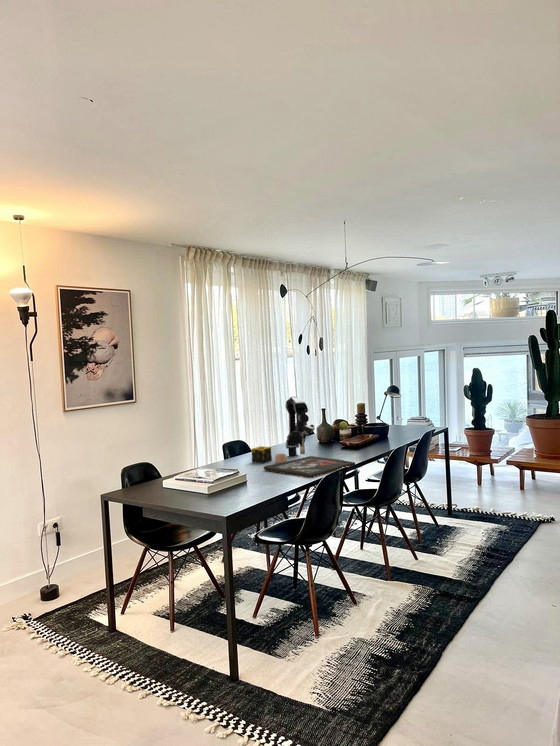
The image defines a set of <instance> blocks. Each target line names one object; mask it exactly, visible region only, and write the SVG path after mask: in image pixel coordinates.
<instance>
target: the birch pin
mask: <svg viewBox="0 0 560 746" xmlns="http://www.w3.org/2000/svg"><path fill="white" fill-rule="evenodd" d="M305 446H306V445H305V443H304V438H302V446H300V445H299V451H300V452H299V453H300V455H305V454H306V451H305V450H306V449H305V448H306V447H305Z"/></svg>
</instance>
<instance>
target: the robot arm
mask: <svg viewBox="0 0 560 746" xmlns="http://www.w3.org/2000/svg"><path fill="white" fill-rule="evenodd" d="M285 409H286V412H287V413H288V431H289V432H288V435H287V436H286V440H285V449H287V450H288V451H287V453H288V455H289V456H288V457H290V458H291V457H293V458H295V457H298V455H299V454H297V449H298V448H299V449H300V446H302V438H304V444H305V442H306V440H307V436H308V435H309V434H312V433H314V430H315V425H314V424H310V425H308V422H309V415H307V413H308V412H309V408H308V404H307V403H306V402H305V401H303V400H300V399H299V398H298V396H290V397H289V399H287V400H286V402H285Z"/></svg>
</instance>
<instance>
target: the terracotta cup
mask: <svg viewBox="0 0 560 746" xmlns="http://www.w3.org/2000/svg"><path fill="white" fill-rule="evenodd" d="M274 455H275V456H274V457H275V458H274V459H275V464H277V463H282V462H286V461H287V454H286V453H275V454H274Z"/></svg>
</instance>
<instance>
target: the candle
mask: <svg viewBox="0 0 560 746" xmlns="http://www.w3.org/2000/svg"><path fill="white" fill-rule="evenodd" d="M271 461H273V457H272V447H271V446H261V445H259V446H257V447H253V448H251V462H252V463H255V464H265V463H268V462H271Z"/></svg>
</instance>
